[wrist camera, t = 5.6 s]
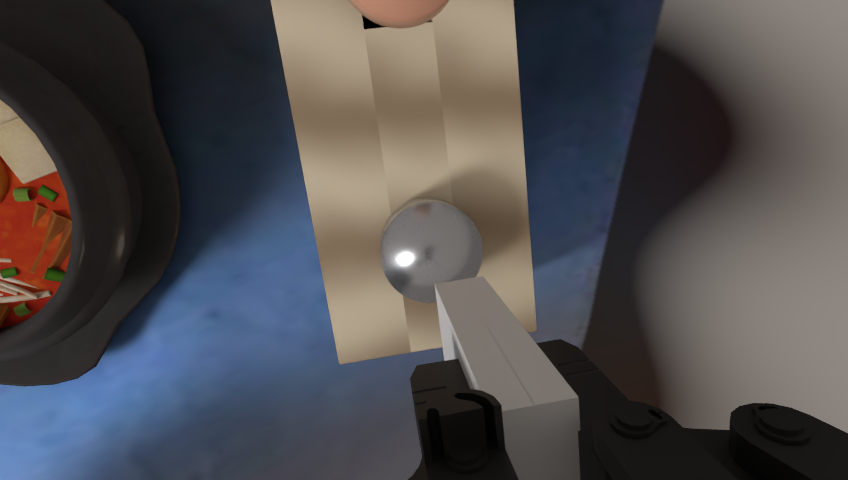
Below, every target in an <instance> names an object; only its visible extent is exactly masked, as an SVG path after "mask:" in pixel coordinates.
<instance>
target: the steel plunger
mask: <svg viewBox="0 0 848 480" xmlns="http://www.w3.org/2000/svg"><path fill="white" fill-rule="evenodd" d="M380 253H381V263H382V268H383V271H384V273H385V276H386V278H387V279H388V281H389V282H390V284H391V285H392V286H393V287H394V288H395V289H396V290H397V291H398V292H399V293H400V294H402V295H404V296H405V297H407V298H409V299H412V300H414V301H418V302H423V303H437V300H436V292H435V284H437V283H444V282H450V281H456V280H463V279H469V278H475V277H476V276H477V274H478V272H479V269H480V267H481V263H482V257H483V245H482V240H481V237H480V234H479V232H478V229H477V228H476V226H475V224H474V223H473V222H472V221H471V219H470V218H469V217H468V216H466V215H465V214H464V213H463V212H462V211H461V210H460V209H459V208H457V207H456V206H455V205H453V204H452V203H450V202H448V201H446V200H443V199H439V198H434V197H423V198H417V199H414V200H411V201H408V202H406V203H404V204H403V205H401V206H400V207H398V208H397V209H396V210H395V211H394V212H393V213H392V214H391V215H390V216H389V218H388V219H387V221H386V222H385V225H384V227H383V229H382V232H381V237H380Z"/></svg>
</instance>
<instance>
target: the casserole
mask: <svg viewBox="0 0 848 480" xmlns="http://www.w3.org/2000/svg"><path fill="white" fill-rule="evenodd" d="M181 207H182V201H181V194H180V187H179V180H178V173H177V170H176V167H175V164H174V161H173V159H172V156H171V153H170V150H169V148H168V145H167V142H166V139H165V137H164V134H163V131H162V128H161V126H160V123H159V120H158V118H157V115H156V112H155V107H154V100H153V93H152V87H151V80H150V74H149V70H148V65H147V60H146V55H145V50H144V46H143V45H142V43H141V41H140V40H139V38H138V36H137V35H136V33H135V31H134V30H133V28H132V27H131V25H130V23H129V22H128V21H127V20H126V19H125V18H124V17H123V16H122V15H121V14H120V13H119V12H117V11H116V10H115V9H114V8H113V7H112V6H111V5H110V4H109V3H107V2H106V1H105V0H0V384H4V385H15V386H37V385H53V384H57V383H61V382H65V381H69V380H73V379H77V378H79V377H80V376H82V375H83V374H85V373H87V372H88V371H90V370H91V369H93V368H94V367H96V366H97V364H98V362H99V360H100V359H101V357H102V355H103V354H104V352H105V350H106V349H107V347H108V345H109V344H110V342H111V340H112V339H113V337H114V335H115V333H116V332H117V330H118V328H119V327H120V325H121V323H122V322H123V321H124V320H125V319H126V318H127V317H128V316H129V315H130V314H131V312H132V311H133V310H134V309H135V308H136V307H137V306H138V305H139V304H140V303H141V302H142V301H143V299H144V298H145V297H146V296H147V295H148V294H149V293H150V292H151V291H152V290H153V288H154V287H155V286H156V285H157V284H158V283H159V281H160V279H161V278H162V276H163V274H164V272H165V270H166V269H167V267H168V265H169V263H170V261H171V260H172V257H173V253H174V250H175V247H176V243H177V240H178V237H179V233H180V222H181Z"/></svg>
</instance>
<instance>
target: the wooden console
mask: <svg viewBox="0 0 848 480" xmlns="http://www.w3.org/2000/svg"><path fill="white" fill-rule="evenodd" d="M271 5H272V10H273V15H274V21H275V26H276V31H277V37H278V42H279V47H280V52H281V58H282V63H283V68H284V74H285V79H286V84H287V90H288V95H289V100H290V105H291V111H292V116H293V121H294V127H295V132H296V137H297V143H298V148H299V153H300V158H301V164H302V169H303V174H304V180H305V185H306V190H307V196H308V201H309V206H310V211H311V217H312V222H313V227H314V233H315V238H316V243H317V249H318V254H319V259H320V264H321V270H322V275H323V280H324V286H325V291H326V296H327V302H328V307H329V312H330V317H331V323H332V328H333V333H334V339H335V344H336V349H337V355H338V360H339V365H340V364H345V363H351V362H357V361H363V360H369V359H375V358H381V357H387V356H393V355H399V354H405V353H410V352H416V351H422V350H428V349H434V348H440V347H442V339H441V332H440V324H439V316H438V308H437V303H423V302H418V301H414V300H412V299H409V298H407V297H405V296H404V295H402V294H400V293H399V292H398V291H397V290H396V289H395V288H394V287H393V286H392V285H391V284H390V282H389V281H388V279H387V278H386V276H385V273H384V271H383V268H382V263H381V253H380V237H381V232H382V229H383V227H384V225H385V222H386V221H387V219H388V218H389V216H390V215H391V214H392V213H393V212H394V211H395V210H396V209H397V208H398V207H400V206H401V205H403V204H404V203H406V202H408V201H411V200H414V199H417V198H423V197H434V198H439V199H443V200H446V201H448V202H450V203H452V204H453V205H455V206H456V207H457V208H459V209H460V210H461V211H462V212H463V213H464V214H465V215H466V216H468V217H469V218H470V219H471V221H472V222H473V223H474V224H475V226H476V228H477V229H478V232H479V234H480V237H481V240H482V245H483V257H482V263H481V267H480V269H479V272H478V274H477V276H476V277H481V276H484V278H485V279H486V280H487V282H488V283H489V284H490V285H491V287H492V288H493V289H494V290H495V292H496V293H497V294H498V296H499V297H500V298H501V299H502V301H503V302H504V303H505V304H506V306H507V307H508V308H509V309H510V311H511V312H512V313H513V315H514V316H515V317H516V318H517V320H518V321H519V322H520V323H521V325H522V326H523V327H524V329H525V330H526V331H527V332H528V333H529V332H535V331H537V325H536V311H535V297H534V283H533V269H532V255H531V241H530V227H529V213H528V199H527V185H526V170H525V156H524V142H523V128H522V114H521V100H520V86H519V72H518V58H517V44H516V30H515V16H514V2H513V0H449V2H448V4H447V5H446V6H445V7H444V9H443V10H442V11H441V12H440V13H439V14H438V15H436V16H435V17H434V18H432V19H431V20H429V22H427V23H424V24H421V25H418V26H415V27H411V28H401V29H398V28H390V27H382V28H373V29H364V26H363V19H362V14H361V13H360V12H359V11H358V10H356V9H355V8H354V6H353V5H352V4H351V3H350V2H349V0H271Z"/></svg>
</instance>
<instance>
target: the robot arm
mask: <svg viewBox="0 0 848 480" xmlns="http://www.w3.org/2000/svg"><path fill="white" fill-rule="evenodd" d="M435 292H436V300H437V308H438V316H439V324H440V332H441V339H442V347H443V355H444V361H441V362H435V363H429V364H424V365H418V366H417V367H416V368H415V370H414V372H413V374H412V376H411V378H410V380H411V387H412V394H413V401H414V407H415V414H416V421H417V428H418V434H419V441H420V447H421V453H422V460H421V462H420V465H419V467H418V469H417V470H416V472H415V473H414V474H413V476H411V477H410V478H409V479H408V480H848V433H846V432H844V431H842V430H840V429H837V428H835V427H833V426H831V425H829V424H827V423H825V422H823V421H821V420H819V419H817V418H815V417H813V416H810V415H808V414H806V413H803V412H800V411H798V410H795V409H792V408H789V407H784V406H779V405H776V404H767V403H765V404H763V403H752V404H748V405H743V406H739V407H738V408H736V409H735V410H734V411H733V412H731V417H730V430H711V429H710V430H709V429H690V428H683V427H681V426H680V425H679V424H678V423H677V422H676V421H675V420H674V419H673V418H672V417H671V416H669V415H668V414H667V413H665V412H663V411H662V410H661V409H659V408H656V407H654V406H650V405H648V404H645V403H641V402H634V401H629V400H628V399H627V398H626V397H625V396H624V395H623V394H622V393H621V392H620V391H619V390H618V388H617V387H616V386H615V385H614V384H613V383H612V382H611V381H610V380H609V379H608V378H607V377H606V376H605V375H604V374H603V373H602V372H601V371H599V370H598V368H597V367H596V366H595V365H594V364H593V363H592V362H591V361H589V358H588V357H587V356H586V355H585V354H584V353H583V352H582V351H581V350H580V349H579V348H578V347H576V346H574V345H572V344H569V343H567V342H565V341H563V340H561V339H559V340H553V341H547V342H542V343H536V342H535V341H534V340H533V339H532V337H531V336H530V335H529V334H528V332H527V331H526V330H525V329H524V327H523V326H522V325H521V323H520V322H519V321H518V320H517V318H516V317H515V316H514V315H513V313H512V312H511V311H510V309H509V308H508V307H507V306H506V304H505V303H504V302H503V301H502V299H501V298H500V297H499V296H498V294H497V293H496V292H495V290H494V289H493V288H492V287H491V285H490V284H489V283H488V282H487V280H486V279H485V278H484V276H481V277H475V278H469V279H463V280H456V281H450V282H444V283H437V284H435Z"/></svg>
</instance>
